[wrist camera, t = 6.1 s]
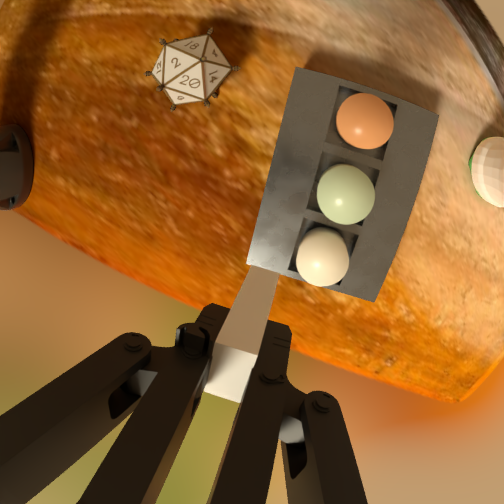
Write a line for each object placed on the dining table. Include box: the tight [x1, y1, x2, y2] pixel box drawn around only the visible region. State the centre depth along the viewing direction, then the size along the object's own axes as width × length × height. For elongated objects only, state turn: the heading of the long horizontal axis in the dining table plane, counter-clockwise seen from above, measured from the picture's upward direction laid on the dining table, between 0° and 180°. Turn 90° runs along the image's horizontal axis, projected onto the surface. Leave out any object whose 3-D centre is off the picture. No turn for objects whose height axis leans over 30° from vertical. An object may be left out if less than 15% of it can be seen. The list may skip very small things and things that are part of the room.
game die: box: [144, 27, 241, 112], centre depth 26 cm, size 9×8×10 cm
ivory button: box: [296, 227, 349, 286], centre depth 29 cm, size 5×5×3 cm
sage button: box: [317, 164, 375, 224], centre depth 25 cm, size 5×5×3 cm
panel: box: [246, 67, 439, 302], centre depth 29 cm, size 14×20×4 cm
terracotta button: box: [335, 93, 394, 149], centre depth 24 cm, size 5×5×3 cm
